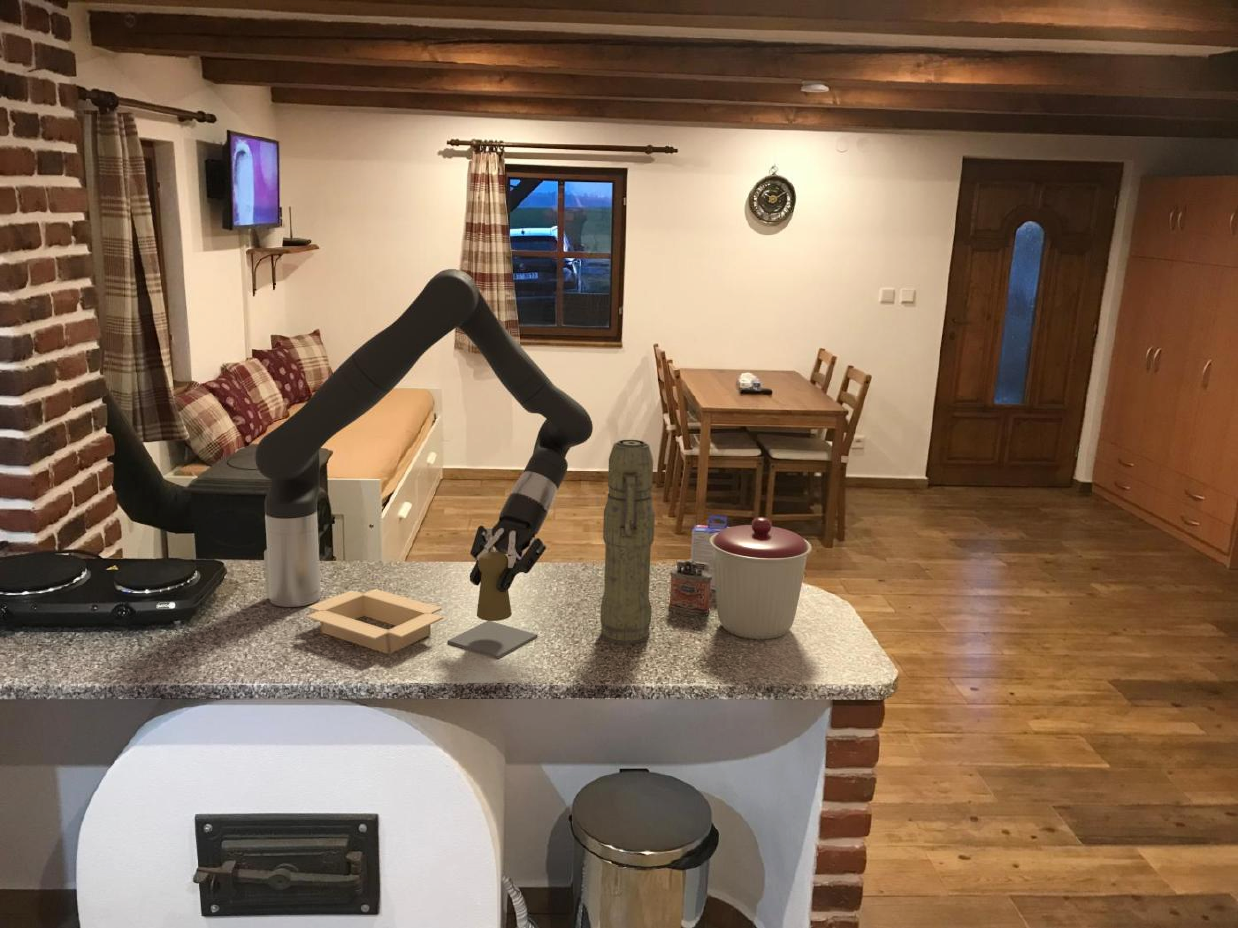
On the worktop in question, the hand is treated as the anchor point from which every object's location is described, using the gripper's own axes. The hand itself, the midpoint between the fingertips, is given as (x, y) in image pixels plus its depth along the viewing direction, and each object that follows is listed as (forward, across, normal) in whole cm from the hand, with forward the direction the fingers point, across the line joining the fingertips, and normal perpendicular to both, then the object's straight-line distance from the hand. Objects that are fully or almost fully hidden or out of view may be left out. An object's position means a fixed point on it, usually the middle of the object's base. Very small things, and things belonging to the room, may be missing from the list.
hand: (487, 586), depth 166 cm
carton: (+13, -19, +2) cm, 23 cm away
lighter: (-16, +21, +32) cm, 42 cm away
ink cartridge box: (-27, +19, +43) cm, 54 cm away
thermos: (-4, +17, +20) cm, 27 cm away
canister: (-16, +35, +31) cm, 50 cm away
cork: (+3, 0, +6) cm, 6 cm away
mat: (+6, 0, +8) cm, 11 cm away
